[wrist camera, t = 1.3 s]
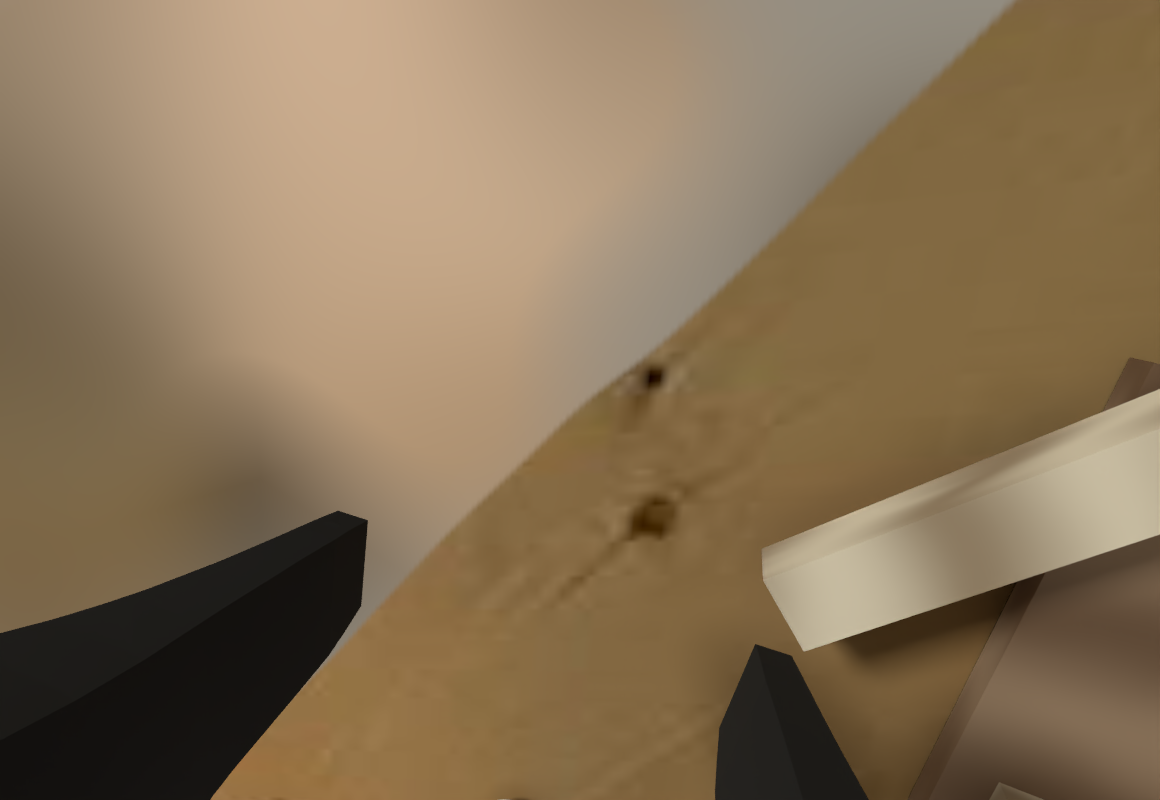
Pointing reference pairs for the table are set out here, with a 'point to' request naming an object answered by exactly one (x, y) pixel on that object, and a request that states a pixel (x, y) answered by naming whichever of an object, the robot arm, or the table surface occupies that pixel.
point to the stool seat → (1064, 680)
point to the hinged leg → (975, 528)
